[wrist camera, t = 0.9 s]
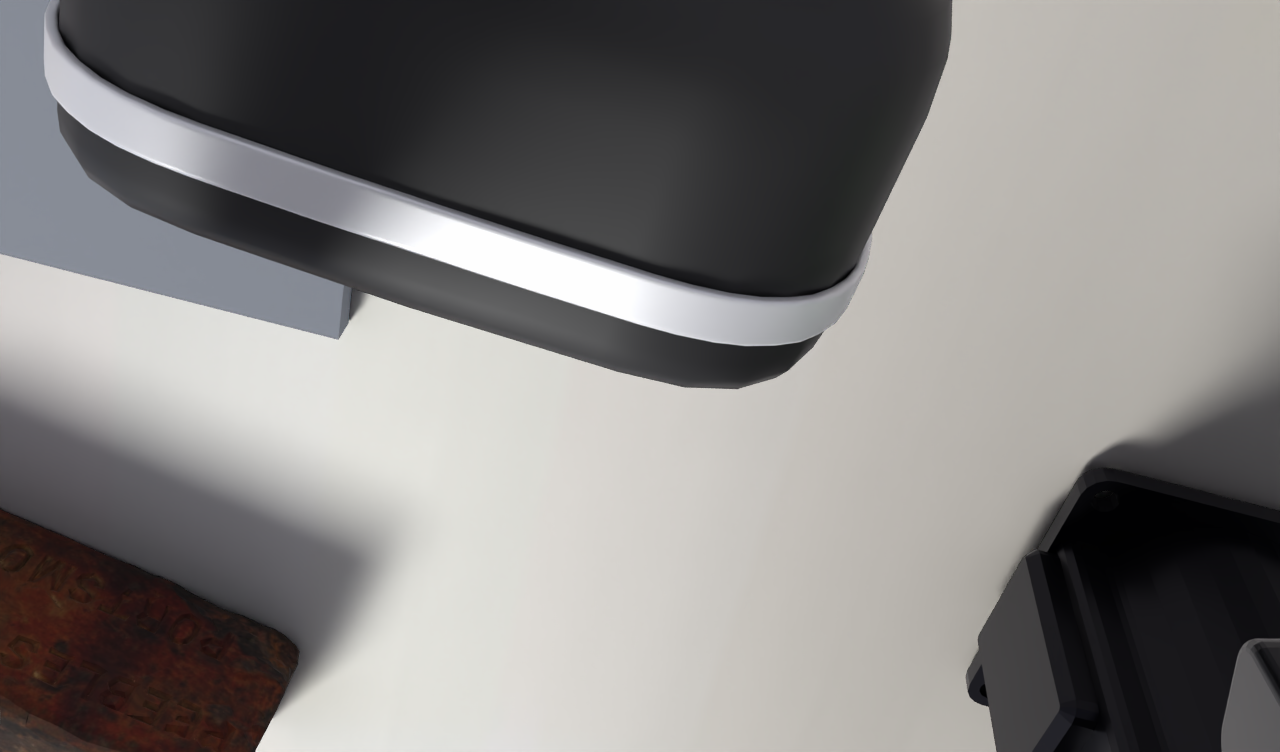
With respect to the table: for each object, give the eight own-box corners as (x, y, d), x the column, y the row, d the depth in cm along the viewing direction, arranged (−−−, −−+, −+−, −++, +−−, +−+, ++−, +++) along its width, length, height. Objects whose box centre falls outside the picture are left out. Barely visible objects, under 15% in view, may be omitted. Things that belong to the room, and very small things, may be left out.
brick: (315, 629, 28) (236, 797, 24) (268, 723, 30) (188, 891, 26) (-131, 438, 26) (-295, 585, 22) (-148, 552, 28) (-300, 705, 24)
